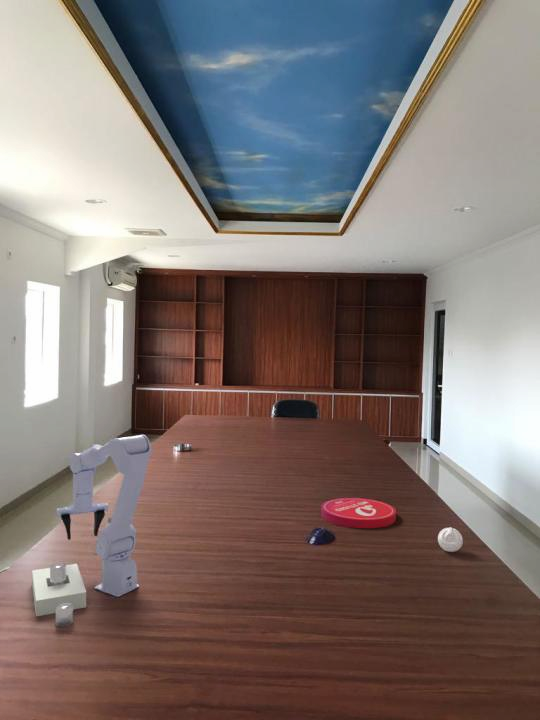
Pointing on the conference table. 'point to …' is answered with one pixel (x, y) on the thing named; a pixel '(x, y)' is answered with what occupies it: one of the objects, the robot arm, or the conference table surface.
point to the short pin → (64, 615)
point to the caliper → (106, 525)
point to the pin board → (57, 590)
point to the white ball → (450, 539)
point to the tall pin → (57, 574)
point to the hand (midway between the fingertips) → (82, 536)
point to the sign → (358, 513)
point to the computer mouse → (320, 536)
